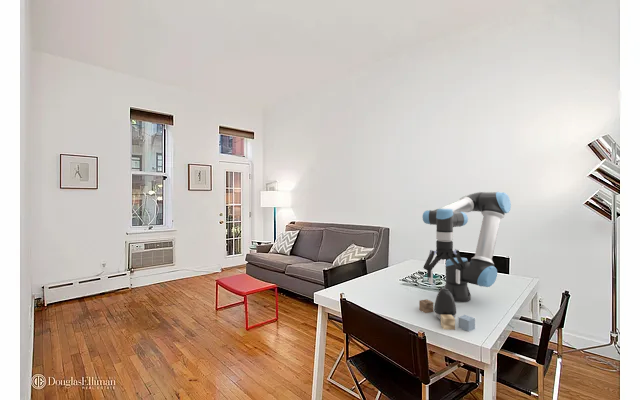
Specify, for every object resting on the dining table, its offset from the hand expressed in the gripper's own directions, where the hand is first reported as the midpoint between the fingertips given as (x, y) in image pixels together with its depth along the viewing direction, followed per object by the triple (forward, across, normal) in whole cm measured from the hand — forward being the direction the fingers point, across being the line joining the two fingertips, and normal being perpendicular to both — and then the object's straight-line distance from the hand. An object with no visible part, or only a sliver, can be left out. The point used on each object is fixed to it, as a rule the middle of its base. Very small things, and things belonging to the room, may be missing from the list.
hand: (444, 283), depth 155 cm
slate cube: (+18, -6, +11) cm, 21 cm away
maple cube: (+18, +2, +9) cm, 20 cm away
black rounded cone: (+18, -1, 0) cm, 18 cm away
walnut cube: (+18, +4, -11) cm, 22 cm away
